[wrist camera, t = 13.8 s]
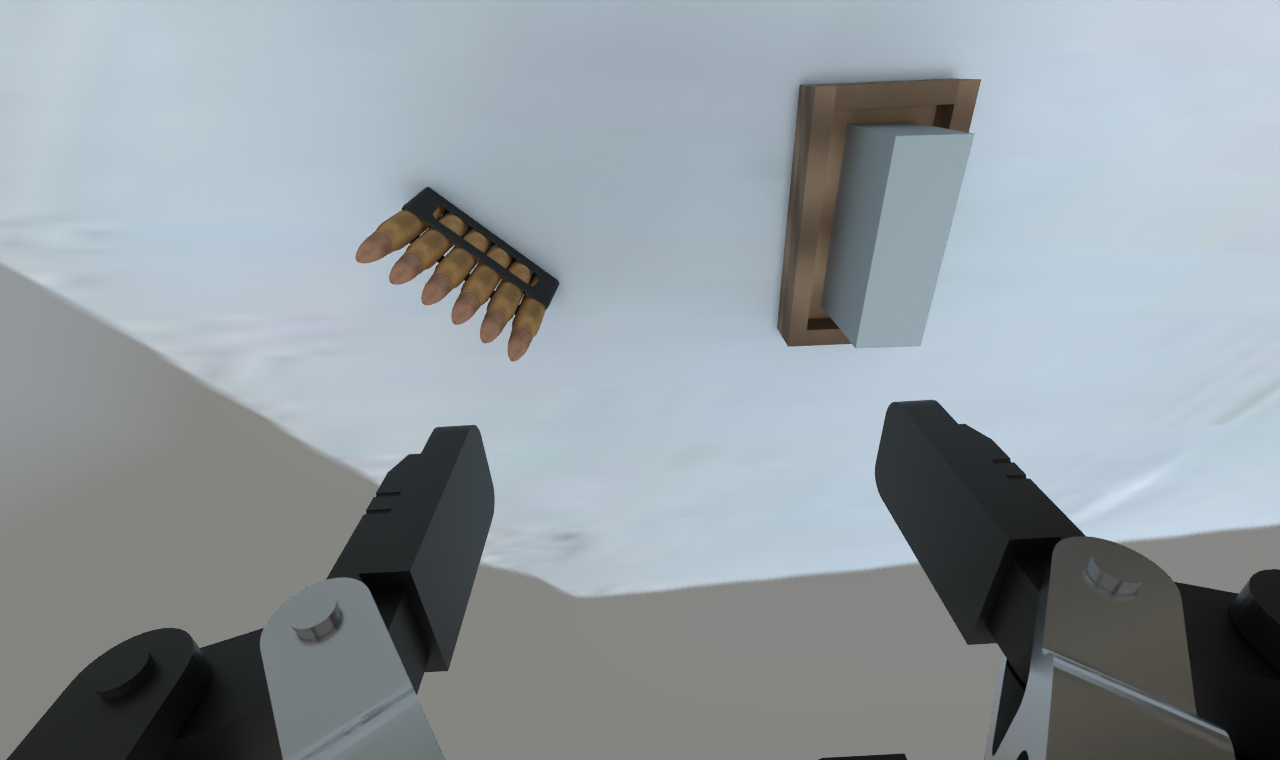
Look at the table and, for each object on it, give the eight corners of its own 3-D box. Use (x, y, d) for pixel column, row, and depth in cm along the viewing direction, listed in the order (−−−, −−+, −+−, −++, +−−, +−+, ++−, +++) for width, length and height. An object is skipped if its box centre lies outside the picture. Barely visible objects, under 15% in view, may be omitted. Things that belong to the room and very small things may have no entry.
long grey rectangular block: (847, 123, 34) (896, 135, 28) (911, 122, 34) (974, 133, 28) (820, 305, 40) (855, 348, 34) (875, 303, 40) (920, 346, 34)
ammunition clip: (560, 282, 40) (536, 357, 29) (545, 301, 41) (518, 381, 30) (427, 185, 36) (347, 232, 26) (414, 208, 37) (331, 262, 27)
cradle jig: (800, 85, 34) (815, 86, 31) (951, 78, 34) (981, 79, 31) (777, 328, 42) (788, 346, 39) (899, 322, 42) (919, 340, 39)
